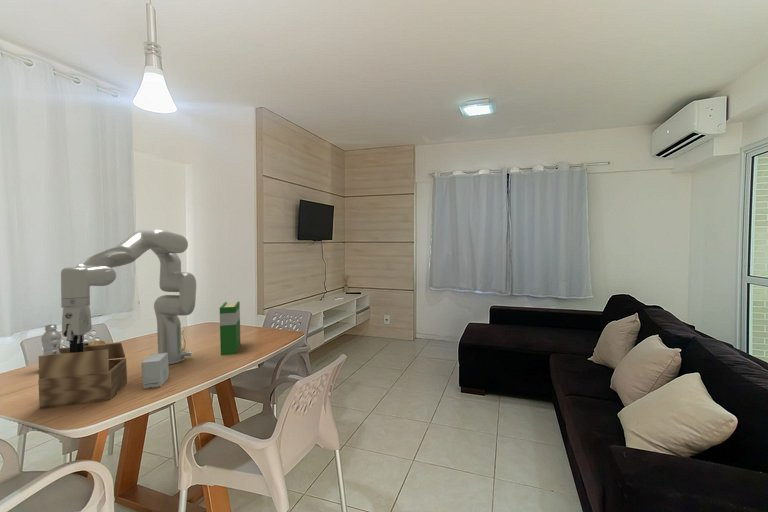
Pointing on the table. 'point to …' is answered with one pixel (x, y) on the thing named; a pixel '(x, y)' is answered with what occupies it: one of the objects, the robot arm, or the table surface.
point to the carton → (83, 386)
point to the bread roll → (97, 342)
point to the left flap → (73, 364)
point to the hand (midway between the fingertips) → (76, 354)
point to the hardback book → (230, 328)
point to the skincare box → (155, 370)
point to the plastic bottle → (51, 340)
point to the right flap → (113, 349)
